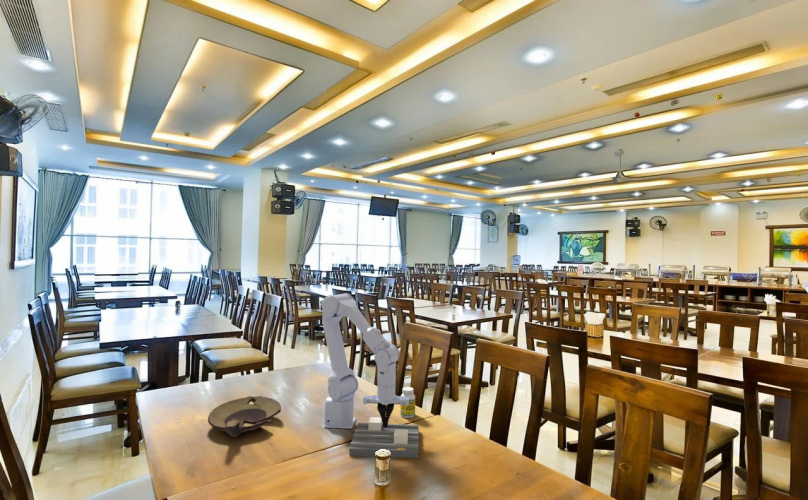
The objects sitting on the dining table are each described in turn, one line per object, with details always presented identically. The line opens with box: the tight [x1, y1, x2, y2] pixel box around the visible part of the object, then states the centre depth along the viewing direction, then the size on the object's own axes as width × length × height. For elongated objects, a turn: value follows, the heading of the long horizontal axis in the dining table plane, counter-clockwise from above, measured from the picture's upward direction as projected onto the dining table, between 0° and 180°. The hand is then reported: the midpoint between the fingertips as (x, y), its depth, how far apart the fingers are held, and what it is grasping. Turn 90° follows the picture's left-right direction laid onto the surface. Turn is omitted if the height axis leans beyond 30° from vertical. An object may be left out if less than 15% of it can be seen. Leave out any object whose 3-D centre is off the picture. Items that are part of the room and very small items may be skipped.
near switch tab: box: [394, 429, 408, 444], centre depth 118 cm, size 4×4×3 cm
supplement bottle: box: [399, 386, 416, 419], centre depth 143 cm, size 5×5×10 cm
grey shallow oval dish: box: [207, 395, 282, 438], centre depth 131 cm, size 22×30×8 cm
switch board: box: [348, 422, 420, 459], centre depth 123 cm, size 20×17×3 cm
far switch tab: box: [367, 416, 383, 431], centre depth 127 cm, size 4×4×3 cm
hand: (385, 426), depth 127 cm, fingers closed
